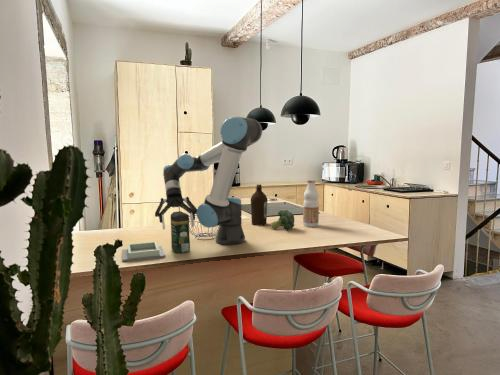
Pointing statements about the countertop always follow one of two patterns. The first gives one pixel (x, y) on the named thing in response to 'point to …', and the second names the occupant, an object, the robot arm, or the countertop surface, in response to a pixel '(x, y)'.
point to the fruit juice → (311, 205)
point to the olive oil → (259, 207)
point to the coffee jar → (180, 232)
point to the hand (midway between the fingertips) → (178, 226)
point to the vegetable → (284, 220)
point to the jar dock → (142, 251)
